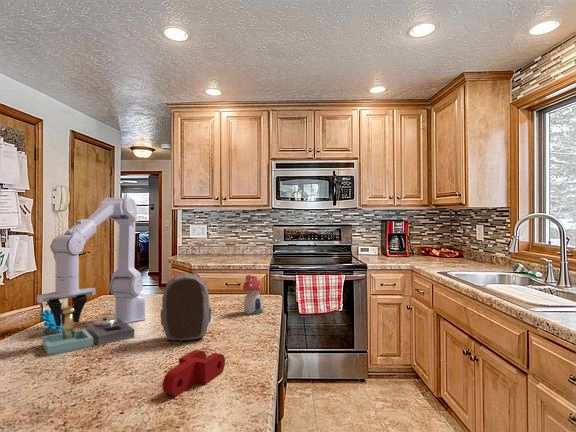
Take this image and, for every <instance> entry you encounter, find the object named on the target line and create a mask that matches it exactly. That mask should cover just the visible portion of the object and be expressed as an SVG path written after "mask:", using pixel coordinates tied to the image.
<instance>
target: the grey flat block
mask: <svg viewBox="0 0 576 432" xmlns="http://www.w3.org/2000/svg"><path fill="white" fill-rule="evenodd" d="M85 330H86V331H87V332H88V333H89V334H90V335H91V336H92V337H93V342H95V343H96V344H97V345H99V346H100V345H101V346H102V345H105V344H111V343H115V342H118V341H119V342H120V341H124V340H129V339H133V338H135V329H134V328H133V327H132V326H130V325H129V324H128V323H124V322H123V321H122V320H120V319H119V318H115V317H113V316H107V317H106V316H105V317H100V318H97V319H95V320H94V321H93V322H89V323H88V322H87V323H85Z"/></svg>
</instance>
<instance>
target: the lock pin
mask: <svg viewBox="0 0 576 432" xmlns="http://www.w3.org/2000/svg"><path fill="white" fill-rule="evenodd" d="M75 311H76V306H73V305H68V306H63V307H62V306H61V318H62V329H61V330H62V332H61V333H62V339H71V338H73V337H74V331H75V322H74V312H75Z"/></svg>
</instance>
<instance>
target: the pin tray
mask: <svg viewBox="0 0 576 432" xmlns="http://www.w3.org/2000/svg"><path fill="white" fill-rule="evenodd" d="M41 347H42V348H43V350H44V352H45V354H46V356H47V357H50V356H56V355H60V354H64V353H68V352H69V353H70V352H74V351H80V350H84V349H88V348H92V347H94V340H93V337H92V336H91V335H90V334H89V333H88V332H87V331H86V328H84V329H78V330H74V337H73V338H71V339H62V332H61V333H60V334H58V333H55V334H50V335H43V336H41Z"/></svg>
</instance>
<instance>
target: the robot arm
mask: <svg viewBox="0 0 576 432" xmlns="http://www.w3.org/2000/svg"><path fill="white" fill-rule="evenodd" d="M137 207H138V204H137V203H136V201H135V200H134V199H133V198H132V197H131V196H130V197H105V198H104V199H103V200H101V201H100V202H99V206H98V208H96V210H94V212H93V213H91V214H90V216H89V217H88V218H82V219H78V220H77V221H76V223H75V224H74V225H73V226H71V227H70V228H69V229H66V231H65V232H64V233H63V234H58V235H56V236H55V237H54V238H53V239H52V241H51V244H50V245H49V248H50V251H51V252H52V254H53V259H54V261H55V291H53V292H47V293H43V294H42V293H41V294H37V295H36V303H38V304H42V303H45V302H46V304H47V306H48V307H49V309H50V311H52V313H53V316H54V319H55V323H56V326H61V308H62V305H63V303H62V302H61V301H60V300H65V299H72V306H76V311H75V312H74V323H77V324H78V323H79V322H80V317H81V315H82V311H83V308H84V307H85V305H86V303H87V301H88V297H87V296H95V295H96V288H95V287H87V288H80V253H82V252H83V250H84V247H85V245H86V242H87V241H88V240H90V238H91V237H92V236H94V235H95V234H96V232H97V227H98V226H99V225H101V224H102V223H103V222H104V221H105V220H107V219H108V218H109V219H111V220H113V221H115V222H116V223H117V224H118V260H117V263H118V264H117V269H116V270H115V271H114V272H113V273H112V274H111V280H110V283H109V290H110V293H112V296H113V297H114V298H115V303H114V304H115V305H114V306H115V311H114V313H115V317H114V318H119V319H120V320H122V321H123V322H124V323H126V324H129V323H136V322H139V321H144V320H146V301H145V295H144V294H143V293H141V292H142V290H143V287H144V286H143V283H144V282H143V280H142V273H141V272H140V271H138V270H137V269H136V268H135V251H136V249H135V247H136V221H137V213H138V212H137V211H138V210H137Z"/></svg>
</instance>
